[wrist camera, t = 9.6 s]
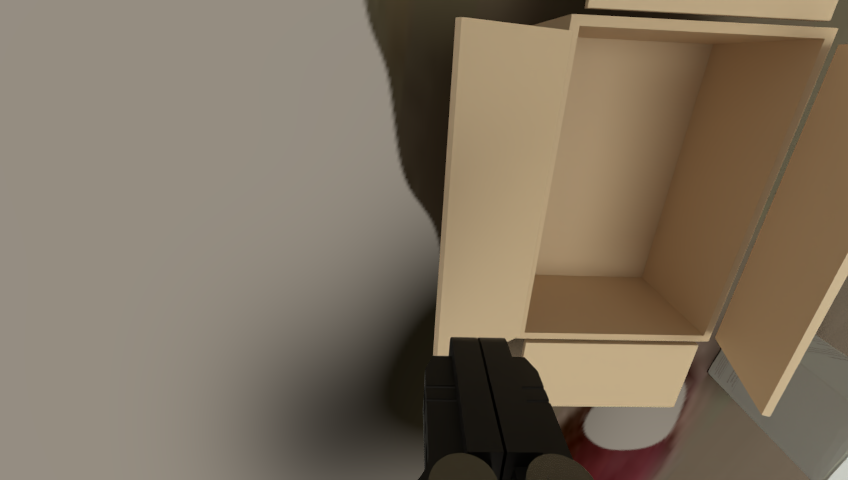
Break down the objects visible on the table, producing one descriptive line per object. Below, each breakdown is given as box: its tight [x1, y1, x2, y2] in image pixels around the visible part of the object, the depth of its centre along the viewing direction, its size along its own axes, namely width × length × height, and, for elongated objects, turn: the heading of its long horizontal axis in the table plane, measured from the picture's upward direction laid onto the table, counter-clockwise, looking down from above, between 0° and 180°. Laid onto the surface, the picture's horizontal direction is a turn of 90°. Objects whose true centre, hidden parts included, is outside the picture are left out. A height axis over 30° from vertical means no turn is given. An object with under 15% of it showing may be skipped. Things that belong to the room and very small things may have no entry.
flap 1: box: [433, 17, 573, 356], centre depth 22 cm, size 7×18×1 cm
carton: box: [517, 0, 838, 407], centre depth 28 cm, size 14×33×9 cm, turn 178°
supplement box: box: [708, 335, 848, 480], centre depth 35 cm, size 7×7×13 cm
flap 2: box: [715, 44, 848, 417], centre depth 21 cm, size 7×18×1 cm
